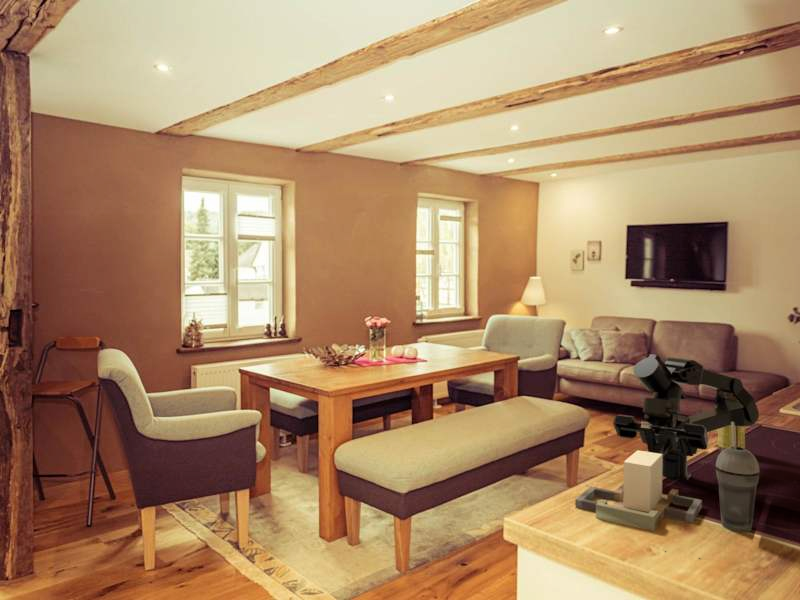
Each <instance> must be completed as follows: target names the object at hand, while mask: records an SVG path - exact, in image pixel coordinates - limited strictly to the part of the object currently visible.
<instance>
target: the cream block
mask: <svg viewBox="0 0 800 600" xmlns="http://www.w3.org/2000/svg"><path fill="white" fill-rule="evenodd" d="M662 459H663V454H659V453H652V452H648V451H646V450H645V451H644V450H638V449H637V450H636V451H634V453H632V454H631V455H630V456H629V457H627V458H626V460H624V461H623V483H624V494H623V507H627V508H631V509H636V510H641V511H646V512H650V511H651V510H652V509H653V508H654V507H655V505H656V504H657V503H658V502H659V500H660V499H661V498H662V494H663V475H662Z"/></svg>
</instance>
